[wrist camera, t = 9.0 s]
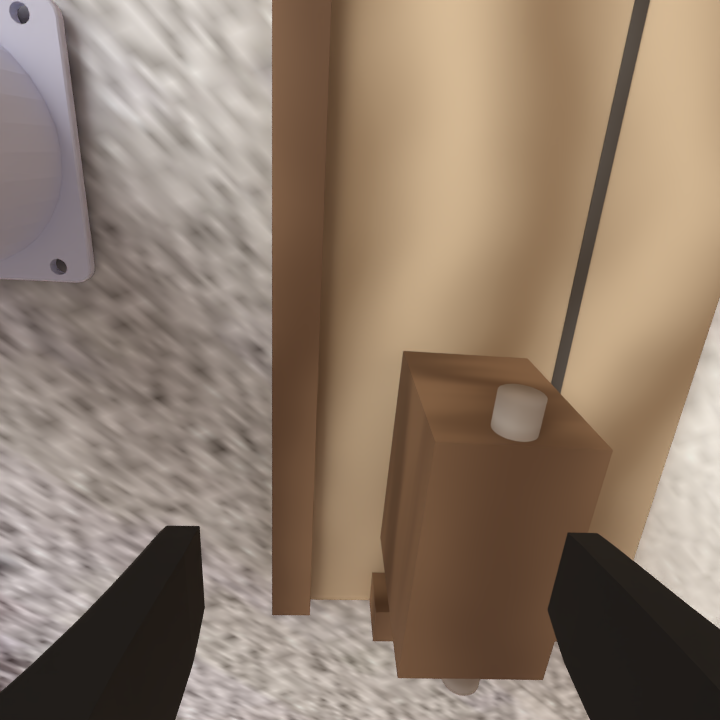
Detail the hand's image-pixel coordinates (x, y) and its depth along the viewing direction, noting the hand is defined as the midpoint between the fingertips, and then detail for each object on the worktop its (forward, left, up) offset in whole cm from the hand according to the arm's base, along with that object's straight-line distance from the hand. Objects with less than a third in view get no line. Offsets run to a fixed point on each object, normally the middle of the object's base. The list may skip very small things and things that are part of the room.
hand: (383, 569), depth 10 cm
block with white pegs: (+4, -3, -9) cm, 10 cm away
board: (+4, +4, -10) cm, 11 cm away
